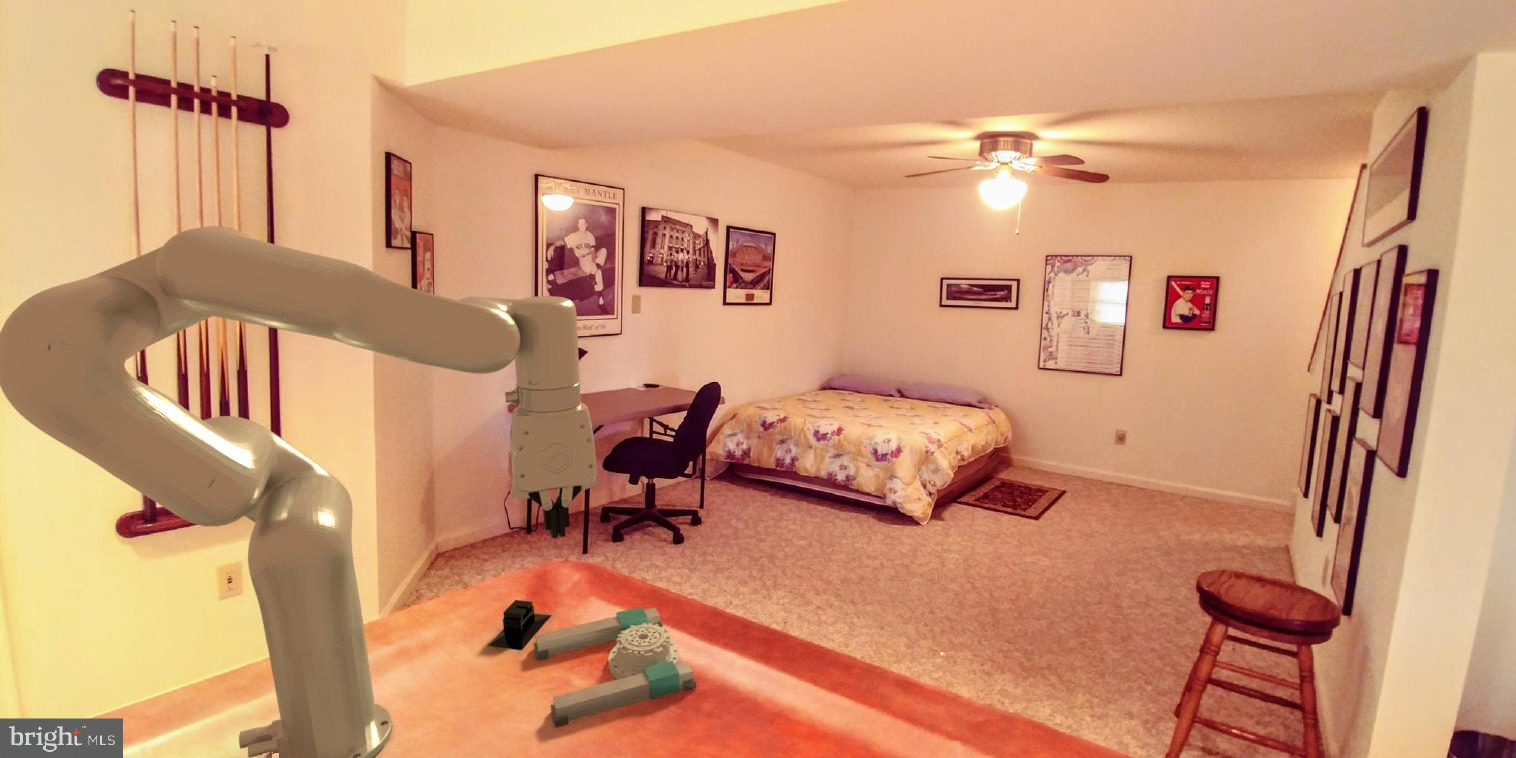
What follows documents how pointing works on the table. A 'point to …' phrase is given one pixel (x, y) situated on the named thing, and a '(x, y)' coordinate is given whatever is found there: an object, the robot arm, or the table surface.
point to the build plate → (519, 625)
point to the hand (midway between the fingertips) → (557, 533)
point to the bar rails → (619, 691)
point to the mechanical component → (641, 650)
